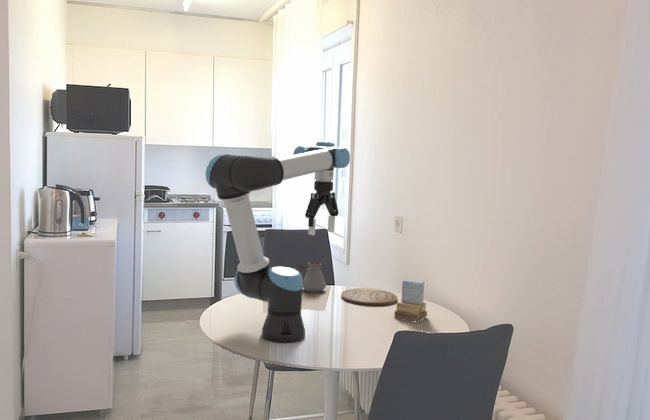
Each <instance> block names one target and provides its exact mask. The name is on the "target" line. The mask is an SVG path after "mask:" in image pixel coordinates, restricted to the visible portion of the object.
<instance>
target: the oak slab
mask: <svg viewBox="0 0 650 420" xmlns="http://www.w3.org/2000/svg"><path fill="white" fill-rule="evenodd" d="M426 305H427V303H426V301H423V303H422V304H421V305H420V304H413V303H406V302H402V299H401V300H399V301H397V302H396V310H395V311H399V312H404V313H409V314H414V315H419V314H421V313H422V312H424V311H426V310H427V309H426Z"/></svg>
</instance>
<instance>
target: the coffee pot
mask: <svg viewBox="0 0 650 420" xmlns="http://www.w3.org/2000/svg"><path fill="white" fill-rule="evenodd" d="M295 265H296V266H297V268H298V267H299V268H301V269H303V270H305V271H306V274H305V276H304V278H303V279H302V283H303V287H302V289H304V290H305V292H308V293H315V294H316V293H320V292H321V293H322V291H323V290H325V288H326V287H327V283H326V281H325V280H326V279H325V278H324V274H323V272H322V269H321V266H322V265H323V264H322V263H321V262H317V261H312V262H311V261H310V262H309V261H308V262H307V265H308V267H306V266H305V265H302V264H300V263H295Z"/></svg>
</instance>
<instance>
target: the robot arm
mask: <svg viewBox="0 0 650 420" xmlns="http://www.w3.org/2000/svg"><path fill="white" fill-rule="evenodd" d="M350 161H351V154H350V151H349V149H347V148H345V147H342V146H341V147H340V146H337V147H336V146H335V143H334V142H329V141H317V142H316V144H315V146H314V145H299V146H297V147H296V148H294V150H293V154H292V155H288V156H281V157H276V156H268V157H267V156H264V157H263V156H250V155H235V154H220V155H216V156H214V157H213V158H212V159H210V161H209V162H208V165H207V166H206V169H205V179H206V183H207V184H208V186H210V187H211V188H213V189H214V190H215V192H216V195H217V198H218V200H220V201H222V202H223V203H224V206H225V210H226V214H227V215H226V216H227V218H228V223H229V225H230V229H231V233H232V237H233V241H234V245H235V249H236V252H237V255H238V260H239V263H238V265H237V269H236V272H235V275H234V284H235V288H236V290H237V291H238V293H240V294H241V295H243V296H245V297H247V298H250V299H254V300H259V301H262V302H266V303H267V314H266V317H265V320H264V323H263V326H262V328H261V337H262V338H263V339H265V340H267V341H270V342H275V343H282V344H283V343H285V344H286V343H296V342H299V341H302V340H304V339H305V338H306V328H305V324H304V322H303V317H302V300H303V283H302V282H303V275H302V273H301V272H300V271H298V270H297V269H296V268H292V267H288V266H287V267H286V266H273V267H272V266H271V263H270V259H269V258H268V257H266V256H264V253H263V248H262V244H261V241H260V237H259V236H260V235H259V233H258V229H257V228H258V227H257V225H256V220H255V217H254V212H253V209H252V208H253V207H252V205H251V201H250V197H249V195H250V194H251V192H254V191H255V192H256V191H260V190H265V189H266V188H271V187H275V186H278V185H280V184H281V183H282V182H283V181H285V180H289V179H293V178H298V177H302V176H305V175H306V176H307V175H309V174H313V173H314V180H315V181H314V184H313V185H314V187H313V190H314V191H315V193H313V192H311V193H310V198H309V199H310V200H309V202H308V205H307V208H306V212H305V214H304V216H305V218H307V219H308V233H307V235H310V236H316V222H317V219H316V218H315V217H316V215H317V214H318V211H319V209H320V207H321V206H322V205H325V207H326V210H327V211H328V213H329V215H328V217H327V218H328V219H327V223H328V224H327V232H330V233H335V224H336V217H338V215H339V213H340V211H339V208H338V205H337V200H336V192H333V190H334V182H333V181H334V176H335V175H334V173H335V172H334V171H335V168H336V169H343V168H347V167H348V165H350Z"/></svg>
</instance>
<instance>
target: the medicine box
mask: <svg viewBox="0 0 650 420" xmlns="http://www.w3.org/2000/svg"><path fill="white" fill-rule="evenodd" d="M401 283H402V284H401V285H402V287H401V300H402V302H406V303H413V304H420V305H421V304H422V303H423V302H424V297H425V295H424V294H425V281H424V280H423V281H422V280H416V279H407V278H406V279H404V280H403V281H402V282H401Z"/></svg>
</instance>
